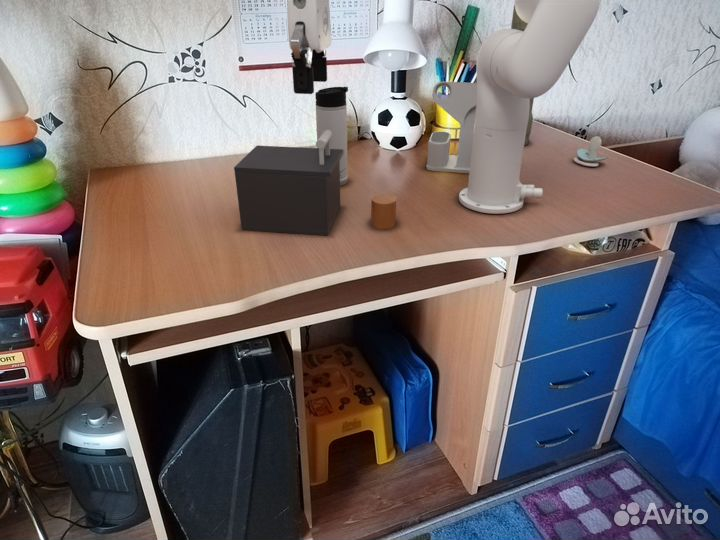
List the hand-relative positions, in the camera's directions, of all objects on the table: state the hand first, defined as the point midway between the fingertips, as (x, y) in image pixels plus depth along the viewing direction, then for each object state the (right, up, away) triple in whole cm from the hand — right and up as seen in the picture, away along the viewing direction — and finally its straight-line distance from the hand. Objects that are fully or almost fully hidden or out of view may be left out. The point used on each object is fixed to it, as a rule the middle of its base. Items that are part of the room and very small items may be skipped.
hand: (311, 87), depth 91 cm
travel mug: (+3, -12, +27) cm, 29 cm away
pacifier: (+62, -6, +37) cm, 73 cm away
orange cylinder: (+12, -22, +8) cm, 27 cm away
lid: (-4, -12, +5) cm, 13 cm away
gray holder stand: (+32, -6, +36) cm, 49 cm away
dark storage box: (-4, -21, +11) cm, 24 cm away
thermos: (+48, +3, +52) cm, 71 cm away
